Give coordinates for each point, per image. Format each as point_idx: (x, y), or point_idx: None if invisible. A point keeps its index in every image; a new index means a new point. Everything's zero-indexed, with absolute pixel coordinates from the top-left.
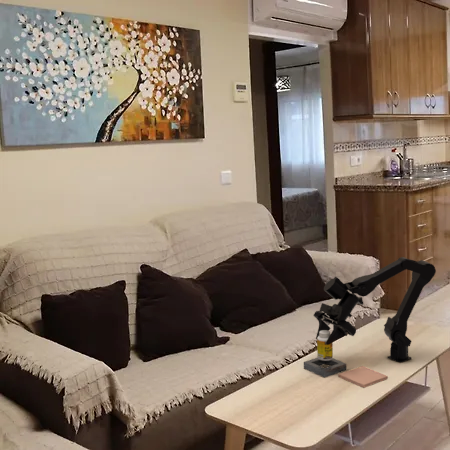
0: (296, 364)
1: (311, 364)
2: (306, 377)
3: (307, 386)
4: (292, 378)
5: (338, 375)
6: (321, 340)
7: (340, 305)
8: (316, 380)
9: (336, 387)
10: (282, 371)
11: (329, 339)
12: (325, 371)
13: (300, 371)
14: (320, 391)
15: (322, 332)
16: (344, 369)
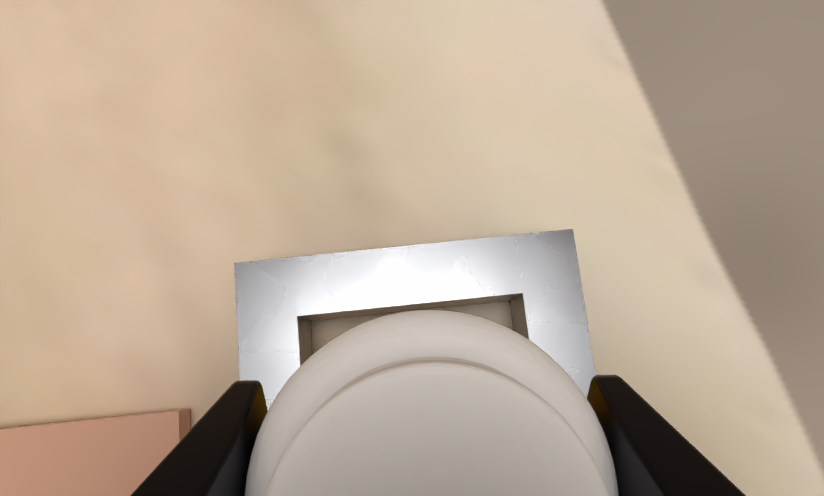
0: (682, 243)
1: (463, 258)
2: (357, 141)
3: (194, 40)
4: (409, 29)
5: (183, 409)
6: (350, 331)
7: None
8: (249, 177)
9: (18, 233)
10: (594, 41)
11: (168, 458)
12: (238, 284)
13: (507, 175)
14: (47, 71)
15: (424, 441)
16: None
